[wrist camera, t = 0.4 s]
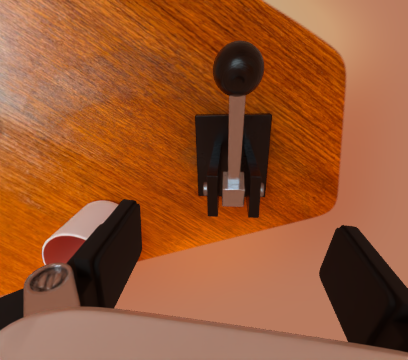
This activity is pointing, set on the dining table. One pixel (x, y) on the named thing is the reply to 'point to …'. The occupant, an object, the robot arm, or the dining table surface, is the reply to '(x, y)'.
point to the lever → (236, 108)
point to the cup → (76, 232)
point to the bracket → (218, 157)
